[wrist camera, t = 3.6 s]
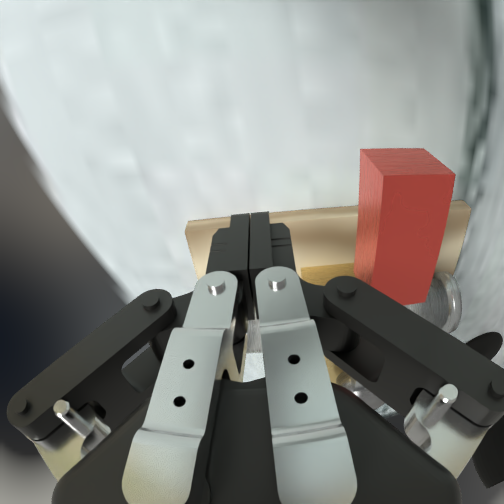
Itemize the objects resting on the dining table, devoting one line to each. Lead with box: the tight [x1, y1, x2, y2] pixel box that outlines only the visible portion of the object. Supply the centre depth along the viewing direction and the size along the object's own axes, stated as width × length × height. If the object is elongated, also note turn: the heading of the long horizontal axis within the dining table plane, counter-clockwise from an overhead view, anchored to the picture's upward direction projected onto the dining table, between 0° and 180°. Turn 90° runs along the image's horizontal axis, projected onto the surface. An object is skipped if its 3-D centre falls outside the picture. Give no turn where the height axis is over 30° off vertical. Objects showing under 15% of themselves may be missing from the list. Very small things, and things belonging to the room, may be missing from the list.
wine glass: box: [466, 332, 504, 488], centre depth 29 cm, size 10×10×20 cm
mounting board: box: [185, 200, 471, 280], centre depth 28 cm, size 15×23×2 cm, turn 97°
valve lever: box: [336, 148, 455, 410], centre depth 15 cm, size 17×3×3 cm, turn 7°
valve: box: [246, 263, 462, 384], centre depth 24 cm, size 6×19×8 cm, turn 97°
